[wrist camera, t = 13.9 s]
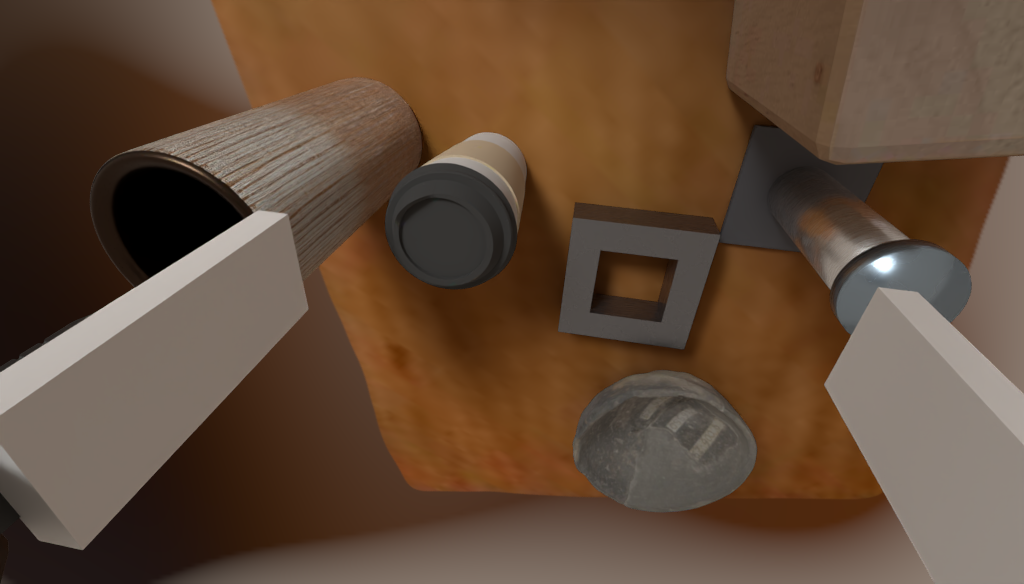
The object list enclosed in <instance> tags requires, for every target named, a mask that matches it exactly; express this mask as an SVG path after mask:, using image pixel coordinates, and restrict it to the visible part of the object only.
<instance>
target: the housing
mask: <svg viewBox="0 0 1024 584" xmlns="http://www.w3.org/2000/svg"><path fill="white" fill-rule="evenodd" d="M719 239H720V233H719V230H718V228H717V226H716V224H715V222H714V220H713V218H709V217H700V216H691V215H682V214H673V213H664V212H656V211H647V210H638V209H629V208H620V207H612V206H603V205H594V204H585V203H576V202H575V208H574V215H573V222H572V230H571V237H570V245H569V252H568V260H567V267H566V275H565V282H564V290H563V297H562V305H561V313H560V320H559V328H558V332H565V333H572V334H579V335H586V336H593V337H600V338H607V339H614V340H621V341H628V342H635V343H642V344H649V345H656V346H663V347H670V348H677V349H684V348H685V345H686V342H687V339H688V336H689V332H690V329H691V326H692V323H693V320H694V317H695V314H696V310H697V307H698V304H699V301H700V298H701V295H702V292H703V289H704V285H705V282H706V279H707V276H708V273H709V270H710V267H711V264H712V260H713V257H714V254H715V251H716V248H717V245H718V242H719ZM600 250H602V251H610V252H619V253H627V254H635V255H643V256H651V257H659V258H667V259H669V262H668V266H667V269H666V273H665V277H664V281H663V284H662V288H661V292H660V296H659V300H658V302H654V301H646V300H639V299H631V298H624V297H616V296H609V295H601V294H594V293H593V291H594V285H595V279H596V273H597V267H598V262H599V256H600Z"/></svg>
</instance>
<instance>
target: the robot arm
mask: <svg viewBox="0 0 1024 584" xmlns="http://www.w3.org/2000/svg"><path fill="white" fill-rule="evenodd" d="M307 310H308V305H307V300H306V295H305V291H304V286H303V281H302V276H301V272H300V267H299V262H298V258H297V253H296V248H295V244H294V239H293V234H292V230H291V225H290V220H289V216H288V214H284V213H276V212H268V211H260V210H258V211H256V212H255V213H253V214H252V215H250V216H248V217H247V218H245V219H244V220H242V221H240V222H239V223H237V224H236V225H234V226H232V227H231V228H229V229H228V230H226V231H225V232H223V233H221V234H220V235H218V236H217V237H215V238H213V239H212V240H210V241H209V242H207V243H205V244H204V245H202V246H201V247H199V248H197V249H196V250H194V251H193V252H191V253H190V254H188V255H186V256H185V257H183V258H182V259H180V260H178V261H177V262H175V263H174V264H172V265H170V266H169V267H167V268H166V269H164V270H162V271H161V272H159V273H158V274H156V275H154V276H153V277H151V278H150V279H148V280H147V281H145V282H143V283H142V284H140V285H139V286H137V287H135V288H134V289H132V290H131V291H129V292H128V293H126V294H125V295H123V296H121V297H119V298H118V299H116V300H115V301H113V302H112V303H110V304H108V305H107V306H105V307H104V308H102V309H100V310H99V311H97V312H96V313H94V314H91V315H89V316H86V317H84V318H82V319H79V320H76V321H74V322H72V323H71V324H69V325H67V326H66V327H64V328H62V329H61V330H59V331H58V332H56V333H54V334H53V335H51V336H50V337H48V338H46V339H45V340H44V343H43V344H37V345H35V346H33V347H32V348H30V349H29V350H27V351H25V352H24V353H22V354H21V355H19V356H20V357H19V359H18V360H15V359H12V360H11V361H9V362H8V363H6V364H4V365H3V366H1V367H0V582H1V579H2V575H3V571H4V567H5V563H6V560H7V556H8V553H9V551H8V540H7V539H6V538H5V537H4V535H3V534H2V533H3V532H4V531H5V530H6V529H7V528H8V527H9V526H11V525H12V524H13V523H14V522H15V521H16V520H17V519H18V518H20V519H21V520H22V521H23V522H24V524H25V525H26V526H27V527H28V528H29V529H30V531H32V533H33V534H34V535H35V536H36V538H37V539H38V540H40V541H44V542H48V543H53V544H58V545H63V546H67V547H72V548H76V549H81V550H83V549H84V548H85V547H86V546H87V545H88V544H89V543H90V542H91V541H92V540H93V539H94V537H95V536H96V535H97V534H98V533H99V532H100V531H101V530H102V529H103V528H104V527H105V526H106V525H107V524H108V523H109V521H110V520H111V519H112V518H113V517H114V516H115V515H116V514H117V513H118V512H119V511H120V510H121V509H122V507H124V505H125V504H126V503H127V502H128V501H129V500H130V499H131V498H132V497H133V496H134V495H135V494H136V492H137V491H139V489H140V488H141V487H142V486H143V485H144V484H145V483H146V482H147V481H148V480H149V478H151V477H152V476H153V475H154V473H155V472H156V471H157V470H158V469H159V468H160V467H161V466H162V465H163V464H164V463H165V462H166V461H167V460H168V458H169V457H170V456H171V455H172V454H173V453H174V452H175V451H176V450H177V449H178V448H179V447H180V446H181V445H182V444H183V442H184V441H185V440H186V439H187V438H188V437H189V436H190V435H191V434H192V433H193V432H194V431H195V430H196V429H197V427H198V426H199V425H200V424H201V423H202V422H203V421H204V420H205V419H206V418H207V417H208V416H209V415H210V414H211V413H212V411H214V409H215V408H216V407H217V406H218V405H219V404H220V403H221V402H222V401H223V400H224V399H225V398H226V397H227V396H228V394H229V393H230V392H231V391H232V390H233V389H234V388H235V387H236V386H237V385H238V384H239V383H240V382H241V380H242V379H244V377H245V376H246V375H247V374H248V373H249V372H250V371H251V370H252V369H253V368H254V367H255V366H256V365H257V363H259V361H260V360H261V359H262V358H263V357H264V356H265V355H266V354H267V353H268V352H269V351H270V350H271V349H272V347H273V346H274V345H275V344H276V343H277V342H278V341H279V340H280V339H281V338H282V337H283V336H284V335H285V334H286V333H287V332H288V330H289V329H290V328H291V327H292V326H293V325H294V324H295V323H296V322H297V321H298V320H299V319H300V318H301V317H302V316H303V314H304V313H305V312H306V311H307ZM824 386H825V387H826V389H827V391H828V393H829V395H830V396H831V398H832V400H833V402H834V404H835V405H836V407H837V409H838V411H839V413H840V414H841V416H842V418H843V420H844V422H845V423H846V425H847V427H848V429H849V431H850V432H851V434H852V436H853V438H854V440H855V441H856V443H857V445H858V447H859V449H860V450H861V452H862V454H863V456H864V458H865V459H866V461H867V463H868V465H869V467H870V468H871V470H872V472H873V474H874V476H875V477H876V479H877V481H878V483H879V485H880V486H881V488H882V490H883V492H884V494H885V495H886V497H887V499H888V501H889V502H890V504H891V506H892V508H893V510H894V512H895V513H896V515H897V517H898V518H899V520H900V522H901V524H902V526H903V528H904V529H905V531H906V533H907V535H908V536H909V539H910V540H911V542H912V544H913V546H914V547H915V549H916V551H917V553H918V555H919V556H920V558H921V560H922V562H923V564H924V565H925V567H926V569H927V571H928V573H929V575H930V576H931V578H932V580H933V582H934V583H935V584H1024V394H1023V393H1022V392H1021V391H1020V390H1019V389H1018V388H1017V387H1016V386H1015V385H1014V384H1013V383H1012V382H1011V381H1010V380H1008V379H1007V377H1005V376H1004V375H1003V374H1002V373H1001V372H1000V371H999V370H998V369H997V368H996V367H995V366H994V365H993V364H992V363H991V362H990V361H989V360H988V359H986V358H985V356H983V354H981V353H980V352H979V351H978V350H977V349H976V348H975V347H974V346H973V345H972V344H971V343H970V342H969V341H968V340H967V339H966V338H965V337H964V336H963V335H962V334H961V333H960V332H959V331H958V330H957V329H956V328H955V327H954V326H952V325H951V324H950V323H949V322H948V321H947V320H946V319H945V318H944V317H943V316H942V315H941V314H940V313H939V312H938V311H937V310H936V309H935V308H934V307H933V306H932V305H931V304H930V303H929V302H928V301H927V300H925V299H924V298H923V297H922V296H921V295H920V294H919V293H918V292H913V291H905V290H897V289H889V288H881V287H878V288H877V290H876V292H875V293H874V295H873V297H872V299H871V301H870V303H869V304H868V306H867V308H866V310H865V312H864V313H863V315H862V317H861V319H860V321H859V322H858V324H857V326H856V328H855V330H854V332H853V333H852V335H851V337H850V339H849V341H848V342H847V344H846V346H845V348H844V350H843V351H842V353H841V355H840V357H839V359H838V361H837V362H836V364H835V366H834V368H833V370H832V371H831V373H830V375H829V377H828V379H827V380H826V382H825V384H824Z"/></svg>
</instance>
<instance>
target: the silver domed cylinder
mask: <svg viewBox="0 0 1024 584" xmlns="http://www.w3.org/2000/svg"><path fill="white" fill-rule="evenodd" d="M767 204H768V208H769V210H770V212H771V213H772V215H773V216H774V217H775V218H776V220H777V221H778V222H779V224H780V225H781V226H782V228H783V229H784V230H785V232H786V233H787V234H788V235H789V237H790V238H791V239H792V241H793V242H794V243H795V245H796V246H797V247H798V249H799V250H800V251H801V252H802V254H803V255H804V256H805V258H806V259H807V260H808V262H809V263H810V264H811V265H812V267H813V268H814V269H815V271H816V272H817V273H818V275H819V276H820V277H821V279H822V280H823V281H824V282H825V284H826V285H827V286H828V288H829V289H830V306H831V309H832V311H833V313H834V315H835V316H836V318H837V319H838V320H839V322H840V323H841V324H842V326H843V327H844V328H845V330H846V331H847V332H848V333H849V334H851V335H852V333H853V332H854V330H855V328H856V326H857V324H858V322H859V321H860V319H861V317H862V315H863V313H864V312H865V310H866V308H867V306H868V304H869V303H870V301H871V299H872V297H873V295H874V293H875V292H876V290H877V288H878V287H881V288H889V289H897V290H905V291H913V292H918V293H919V294H920V295H921V296H922V297H923V298H924V299H925V300H927V301H928V302H929V303H930V304H931V305H932V306H933V307H934V308H935V309H936V310H937V311H938V312H939V313H940V314H941V315H942V316H943V317H944V318H945V319H946V320H947V321H948V322H949V323H950V322H952V321H953V320H954V319H955V318H956V317H957V316H958V315H959V314H960V312H961V311H962V310H963V308H964V307H965V305H966V303H967V301H968V299H969V296H970V293H971V286H972V283H971V276H970V274H969V271H968V270H967V268H966V267H965V265H964V264H963V263H962V262H961V261H960V260H958V259H957V258H956V257H954V256H953V255H951V254H950V253H949V252H947V251H946V250H945V249H943V248H942V247H940V246H938V245H936V244H934V243H931V242H928V241H923V240H916V239H909V238H908V237H907V236H906V235H904V234H903V233H902V232H900V231H899V230H898V229H897V228H895V227H894V226H893V225H892V224H890V223H889V222H888V221H887V220H885V219H884V218H883V217H882V216H880V215H879V214H878V213H877V212H875V211H874V210H873V209H871V208H870V207H869V206H868V205H866V204H865V203H864V202H863V201H861V200H860V199H859V198H858V197H856V196H855V195H854V194H853V193H851V192H850V191H849V190H848V189H846V188H845V187H844V186H843V185H841V184H840V183H839V182H837V181H836V180H835V179H834V178H832V177H831V176H830V175H829V174H827V173H826V172H825V171H823V170H822V169H820V168H817V167H812V166H802V167H797V168H794V169H791V170H789V171H787V172H785V173H784V174H782V175H781V176H780V177H779V178H778V179H777V180H776V181H775V182H774V183H773V185H772V186H771V188H770V190H769V193H768V198H767Z"/></svg>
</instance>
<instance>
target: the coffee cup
mask: <svg viewBox="0 0 1024 584" xmlns="http://www.w3.org/2000/svg"><path fill="white" fill-rule="evenodd" d="M526 176H527V167H526V162H525V159H524V156H523V154H522V152H521V151H520V149H519V148H518V147H517V146H516V144H515V143H513V142H512V141H511V140H510V139H508V138H506V137H505V136H502V135H500V134H496V133H488V132H487V133H479V134H476V135H473V136H471V137H469V138H468V139H466V140H465V141H463V142H461V143H459V144H457V145H455V146H453V147H451V148H450V149H448V150H446V151H445V152H443V153H442V154H440V155H438V156H437V157H435V158H433V159H432V160H430V161H428V162H427V163H425V164H424V165H422V166H421V167H419V168H417V169H415V170H413V171H412V172H410V173H409V174H407V175H406V176H405V177H404V178H403V179H402V180H401V181H400V182H399V183H398V185H397V186H396V187H395V189H394V191H393V193H392V195H391V198H390V201H389V205H388V208H387V211H386V217H385V231H386V237H387V240H388V243H389V246H390V248H391V250H392V252H393V254H394V256H395V257H396V259H397V260H398V261H399V263H400V264H401V265H402V266H403V267H404V268H405V269H406V270H407V271H408V272H409V273H411V274H412V275H413V276H415V277H416V278H418V279H419V280H421V281H423V282H425V283H427V284H430V285H433V286H436V287H440V288H445V289H465V288H470V287H474V286H477V285H480V284H482V283H484V282H486V281H487V280H489V279H491V278H493V277H495V276H496V275H497V274H499V273H500V272H501V271H502V270H503V269H504V268H505V267H506V265H507V264H508V263H509V261H510V259H511V257H512V256H513V253H514V250H515V247H516V242H517V233H518V229H519V224H520V218H521V213H522V207H523V201H524V196H525V181H526Z"/></svg>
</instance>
